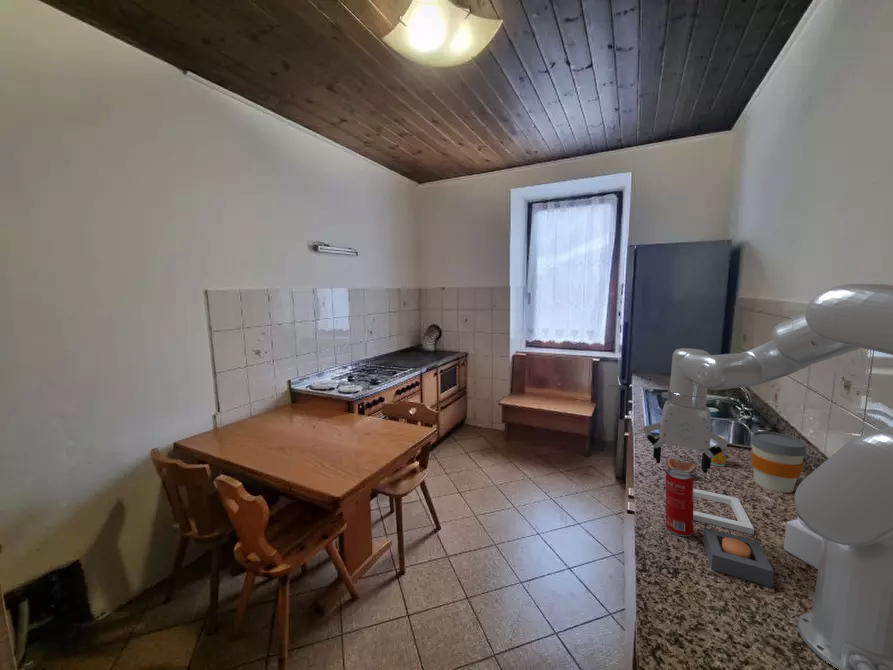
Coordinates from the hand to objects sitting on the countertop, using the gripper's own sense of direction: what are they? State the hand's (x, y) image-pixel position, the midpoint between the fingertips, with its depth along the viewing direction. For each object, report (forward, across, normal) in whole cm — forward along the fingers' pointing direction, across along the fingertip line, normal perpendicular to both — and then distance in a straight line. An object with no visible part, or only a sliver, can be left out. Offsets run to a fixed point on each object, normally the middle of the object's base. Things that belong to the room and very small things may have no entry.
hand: (680, 465), depth 87 cm
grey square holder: (+16, +11, -8) cm, 21 cm away
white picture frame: (+17, +10, +13) cm, 24 cm away
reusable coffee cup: (+17, +30, +38) cm, 51 cm away
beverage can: (+17, +1, -1) cm, 17 cm away
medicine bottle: (+17, +27, +2) cm, 32 cm away
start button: (+15, +11, -8) cm, 20 cm away
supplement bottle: (+18, +17, +47) cm, 53 cm away
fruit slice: (+18, +5, +32) cm, 37 cm away
